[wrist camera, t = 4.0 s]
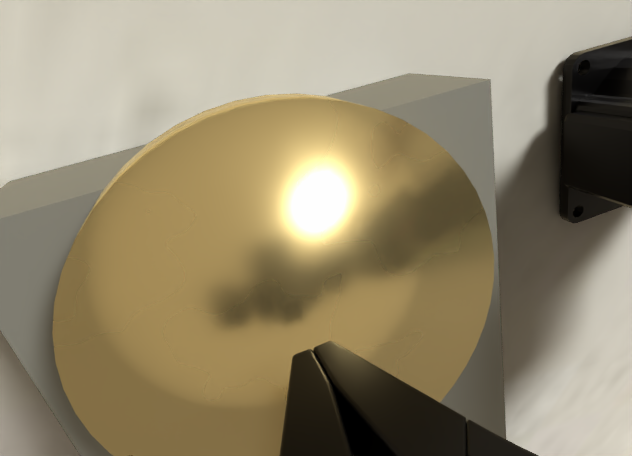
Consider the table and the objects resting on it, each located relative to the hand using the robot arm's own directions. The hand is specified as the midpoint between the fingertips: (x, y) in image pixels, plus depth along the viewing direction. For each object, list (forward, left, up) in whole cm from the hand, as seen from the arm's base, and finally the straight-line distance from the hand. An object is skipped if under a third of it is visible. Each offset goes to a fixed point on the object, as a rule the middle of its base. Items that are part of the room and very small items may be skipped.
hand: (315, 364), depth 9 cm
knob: (0, 0, -6) cm, 6 cm away
